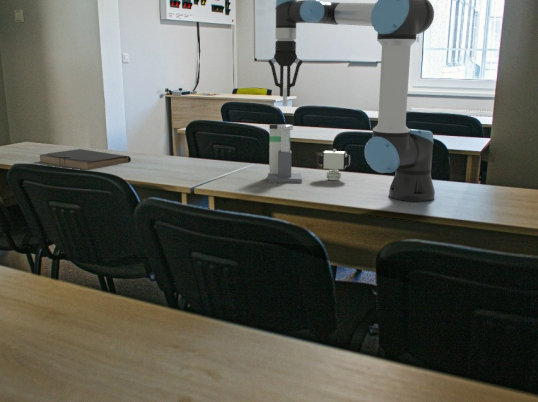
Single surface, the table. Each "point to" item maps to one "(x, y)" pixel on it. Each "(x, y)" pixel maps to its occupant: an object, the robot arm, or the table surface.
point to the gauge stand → (280, 161)
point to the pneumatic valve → (334, 162)
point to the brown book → (84, 159)
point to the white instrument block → (283, 135)
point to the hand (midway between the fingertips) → (284, 105)
